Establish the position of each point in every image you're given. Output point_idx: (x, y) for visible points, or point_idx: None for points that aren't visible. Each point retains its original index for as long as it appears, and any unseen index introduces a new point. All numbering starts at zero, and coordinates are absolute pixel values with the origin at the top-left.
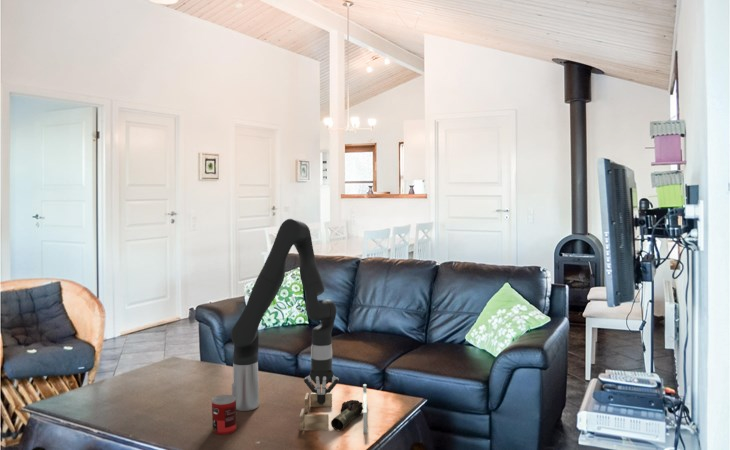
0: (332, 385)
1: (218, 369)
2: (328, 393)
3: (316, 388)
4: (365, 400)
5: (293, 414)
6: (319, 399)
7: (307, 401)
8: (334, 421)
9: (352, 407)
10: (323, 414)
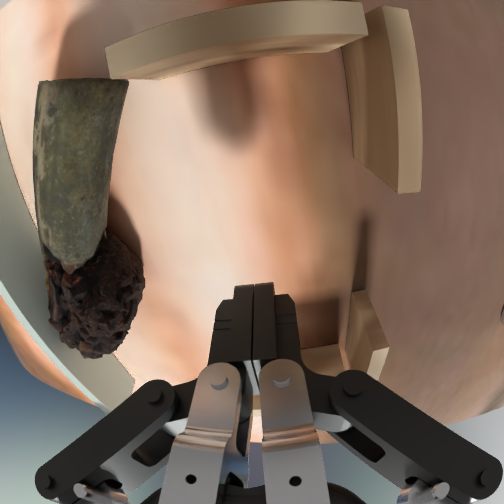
0: (96, 453)
1: (488, 406)
2: (254, 410)
3: (320, 428)
4: (41, 345)
5: (418, 262)
6: (270, 316)
7: (366, 342)
8: (110, 117)
9: (53, 286)
10: (158, 57)
